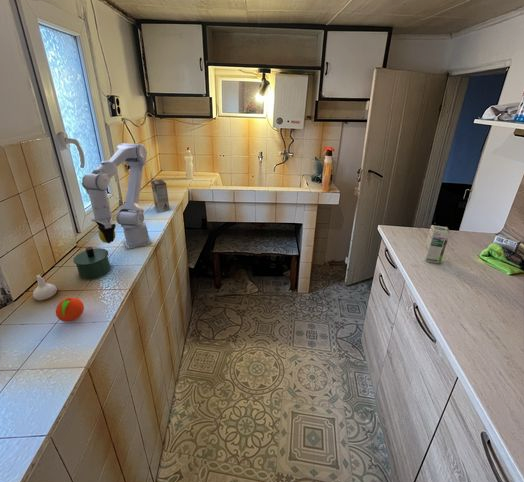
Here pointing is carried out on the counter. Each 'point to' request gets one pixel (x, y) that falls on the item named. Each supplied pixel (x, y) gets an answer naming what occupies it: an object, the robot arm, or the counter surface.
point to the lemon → (104, 237)
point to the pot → (94, 270)
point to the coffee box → (160, 195)
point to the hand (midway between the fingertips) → (108, 238)
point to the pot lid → (90, 256)
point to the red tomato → (69, 309)
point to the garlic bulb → (44, 289)
